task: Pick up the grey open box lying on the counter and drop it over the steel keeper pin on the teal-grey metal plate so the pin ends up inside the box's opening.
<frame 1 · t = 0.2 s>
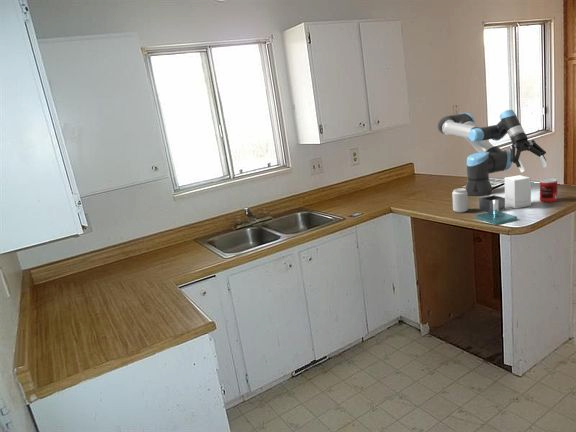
hand: (534, 169, 226), 15 cm above the worktop, tool tilted 35°, fingers open, 13 cm apart
canned food: (548, 200, 222), on the worktop
grey open box: (492, 209, 222), on the worktop
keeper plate: (495, 218, 207), on the worktop
supplement box: (517, 205, 222), on the worktop
can: (460, 211, 227), on the worktop
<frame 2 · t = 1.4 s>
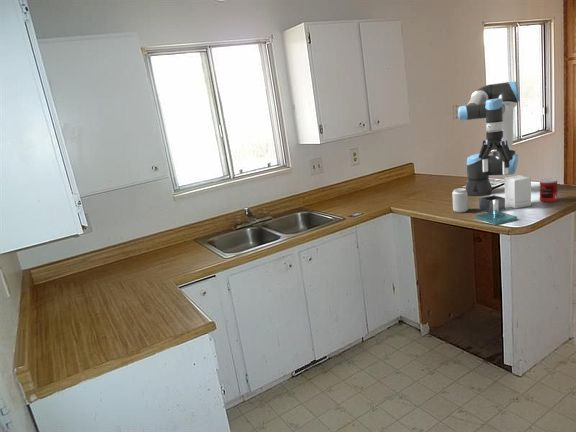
hand: (495, 172, 217), 19 cm above the worktop, tool pointing down, fingers open, 13 cm apart
nothing on the worktop moved.
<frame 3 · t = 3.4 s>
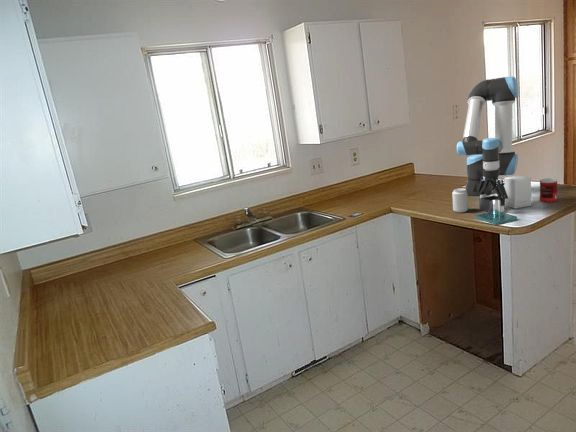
hand: (492, 209, 222), 0 cm above the worktop, tool pointing down, fingers open, 13 cm apart
nothing on the worktop moved.
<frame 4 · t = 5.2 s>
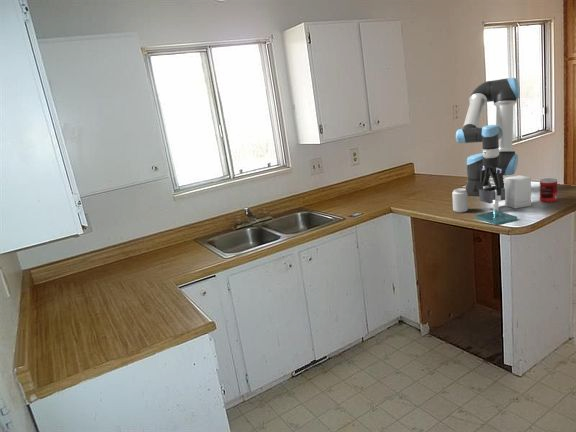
hand: (492, 199, 221), 5 cm above the worktop, tool pointing down, fingers closed on grey open box, 8 cm apart
grey open box: (492, 200, 221), point 5 cm above the worktop, touching gripper
everything else where it was.
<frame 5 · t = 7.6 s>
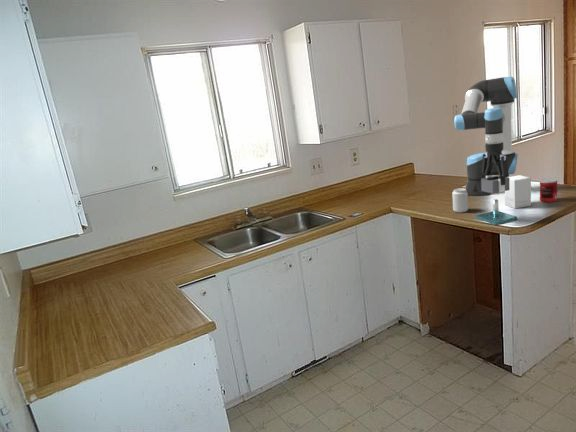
hand: (495, 190, 203), 15 cm above the worktop, tool pointing down, fingers closed on grey open box, 8 cm apart
grey open box: (495, 190, 203), point 14 cm above the worktop, touching gripper
everything else where it was.
when the fingers open (2 cm above the worktop, at t = 10.5 s): grey open box stays where it is, resting on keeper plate.
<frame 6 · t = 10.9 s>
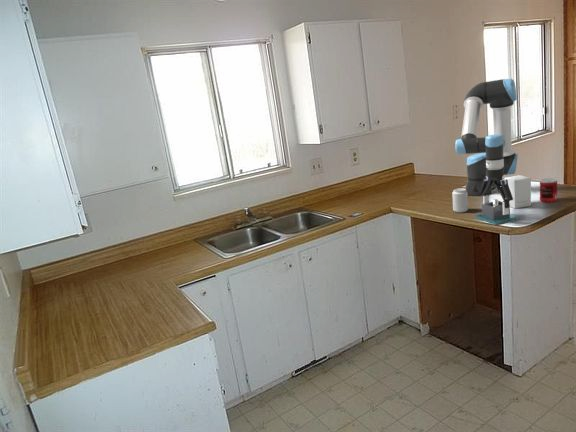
hand: (495, 211, 206), 4 cm above the worktop, tool pointing down, fingers open, 13 cm apart
grey open box: (495, 215, 207), point 1 cm above the worktop, touching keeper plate
everything else where it was.
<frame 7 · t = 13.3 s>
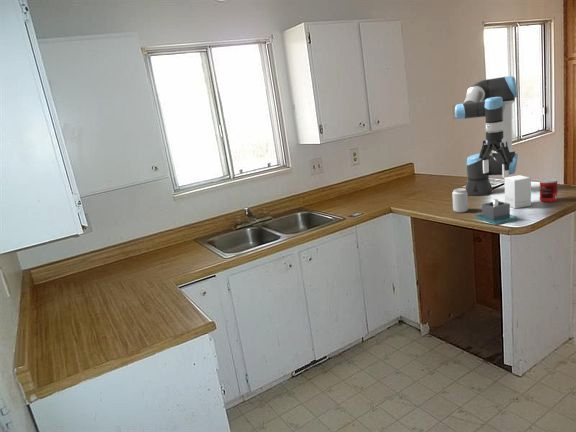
hand: (495, 174, 206), 21 cm above the worktop, tool pointing down, fingers open, 13 cm apart
nothing on the worktop moved.
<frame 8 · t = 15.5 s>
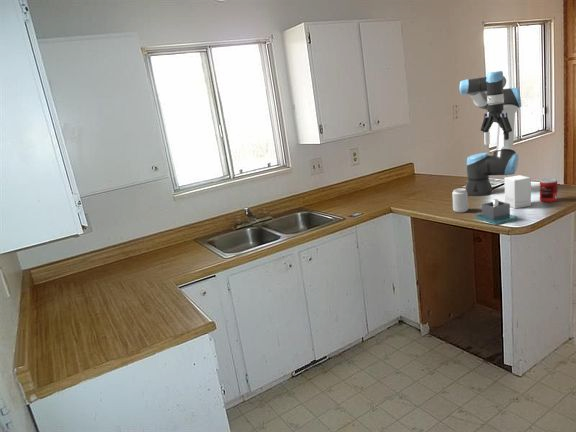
hand: (496, 145, 221), 32 cm above the worktop, tool pointing down, fingers open, 13 cm apart
nothing on the worktop moved.
at the end: grey open box 0.0 cm off-centre on the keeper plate, point 1.5 cm above the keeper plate's base; grey open box tilted 0°; the gripper is holding nothing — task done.
